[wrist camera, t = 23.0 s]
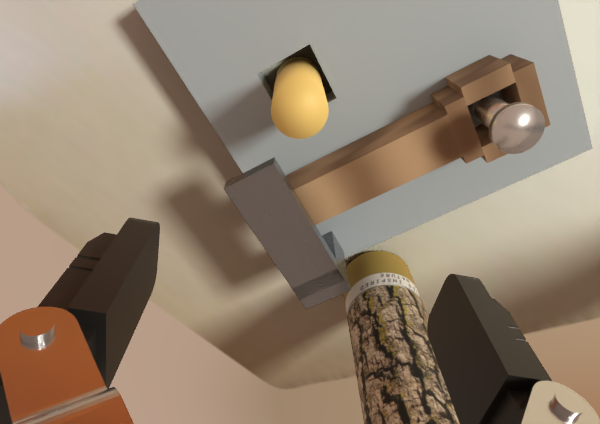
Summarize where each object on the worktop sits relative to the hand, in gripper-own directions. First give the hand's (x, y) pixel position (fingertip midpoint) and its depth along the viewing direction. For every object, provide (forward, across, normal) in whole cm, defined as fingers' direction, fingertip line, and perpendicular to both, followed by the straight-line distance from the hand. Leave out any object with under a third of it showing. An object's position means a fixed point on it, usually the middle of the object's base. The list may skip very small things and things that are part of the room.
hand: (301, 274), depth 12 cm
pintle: (+26, -14, -1) cm, 30 cm away
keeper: (+26, -2, +10) cm, 28 cm away
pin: (+26, 0, 0) cm, 26 cm away
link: (+24, -8, +3) cm, 25 cm away
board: (+26, -6, -1) cm, 27 cm away
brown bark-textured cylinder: (+26, -12, +18) cm, 34 cm away
